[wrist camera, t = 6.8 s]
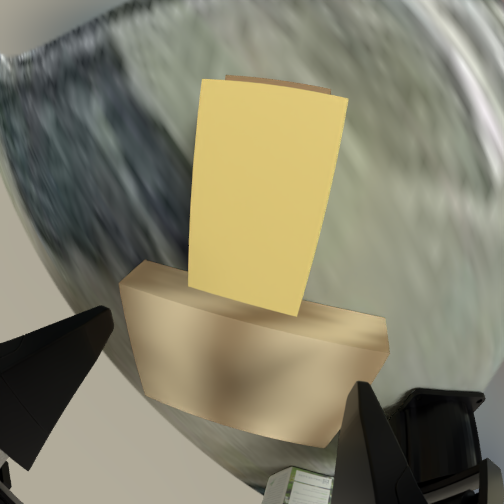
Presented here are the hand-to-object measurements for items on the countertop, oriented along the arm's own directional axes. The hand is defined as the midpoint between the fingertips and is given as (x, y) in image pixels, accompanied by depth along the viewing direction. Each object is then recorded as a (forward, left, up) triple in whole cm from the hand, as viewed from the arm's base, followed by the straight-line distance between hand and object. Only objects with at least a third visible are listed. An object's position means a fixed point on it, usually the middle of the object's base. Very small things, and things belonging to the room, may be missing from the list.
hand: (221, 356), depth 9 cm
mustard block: (0, -1, -4) cm, 4 cm away
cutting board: (0, +6, -6) cm, 8 cm away
